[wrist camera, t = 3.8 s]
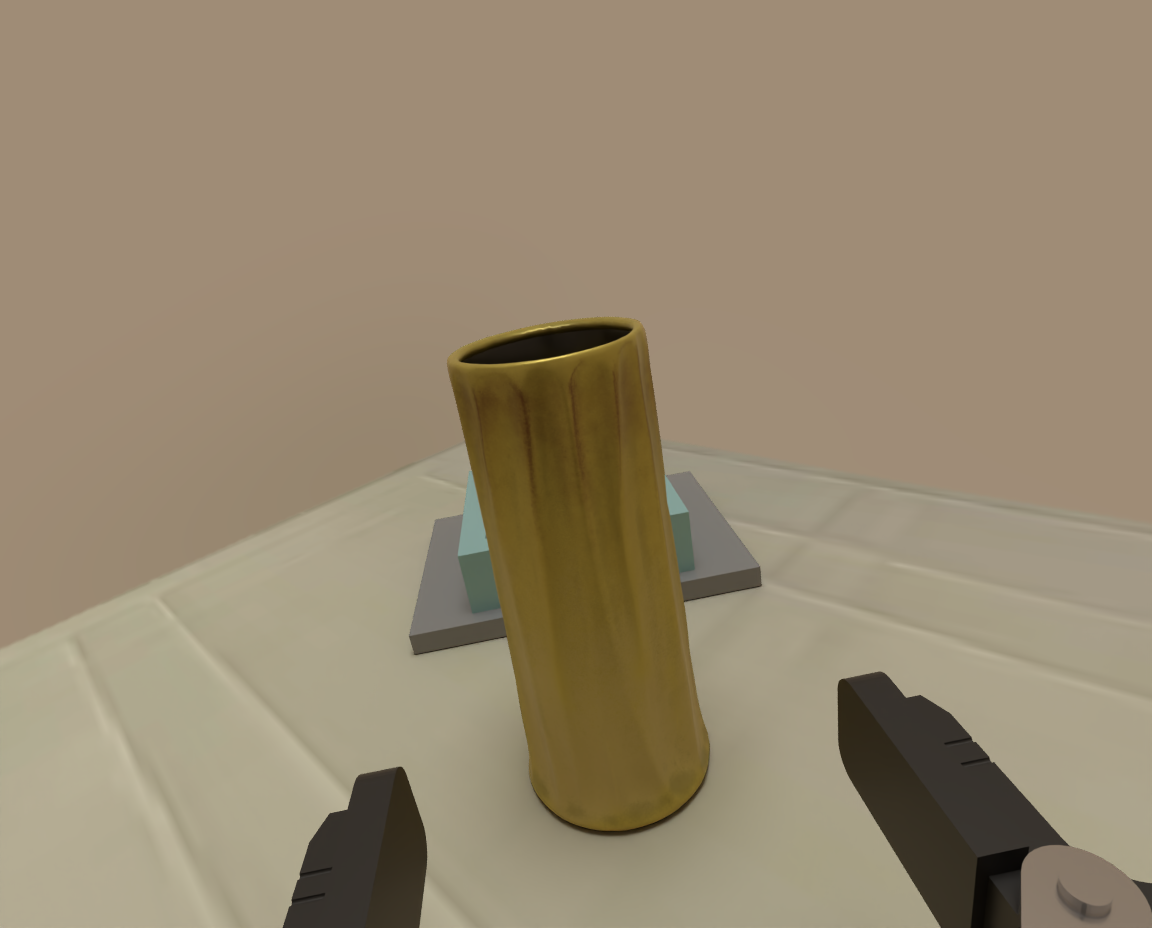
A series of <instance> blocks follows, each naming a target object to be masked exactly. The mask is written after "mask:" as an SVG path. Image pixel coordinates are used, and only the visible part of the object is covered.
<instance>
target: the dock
mask: <svg viewBox="0 0 1152 928" xmlns="http://www.w3.org/2000/svg"><path fill="white" fill-rule="evenodd" d="M665 483H666V495H667V504H668V508H669V513H670V519H671V524H672V530H673V536H674V542H675V548H676V555H677V561H678V568H679V574H680V581H681V587H682V593H683V600H684V601H686V600H691V599H696V598H701V597H706V596H711V595H716V594H721V593H726V592H731V591H736V590H741V589H746V588H751V587H756V586H761V571H760V566H759V564H758V563H757V562H756V560H755V559H754V558H753V556H752V555H751V554H750V552H749V551H748V549H747V548H746V547H745V545H744V544H743V543H742V541H741V540H740V539H739V537H738V536H737V535H736V533H735V532H734V531H733V529H732V528H731V526H730V525H729V524H728V522H727V521H726V520H725V518H724V517H723V516H722V514H721V513H720V512H719V510H718V509H717V508H716V506H715V505H714V503H713V502H712V501H711V499H710V498H709V497H708V495H707V494H706V493H705V491H704V490H703V489H702V487H701V486H700V485H699V483H698V482H697V480H696V479H695V478H694V476H693V475H692V474H691V472H690V471H688V472H683V473H678V474H673V475H667V476H666V475H665ZM505 636H507V635H506V630H505V625H504V620H503V616H502V611H501V607H500V603H499V598H498V594H497V589H496V584H495V579H494V574H493V569H492V563H491V558H490V553H489V548H488V543H487V537H486V532H485V528H484V524H483V520H482V515H481V511H480V506H479V502H478V497H477V492H476V488H475V483H474V479H473V474H472V471H469V476H468V483H467V491H466V498H465V506H464V513H463V515H458V516H452V517H447V518H442V519H437V520H435V523H434V528H433V532H432V537H431V541H430V546H429V550H428V554H427V559H426V563H425V568H424V572H423V577H422V581H421V585H420V590H419V594H418V599H417V603H416V608H415V612H414V616H413V621H412V625H411V630H410V634H409V638H410V641H411V644H412V647H413V651H414V654H419V653H424V652H429V651H434V650H439V649H444V648H450V647H455V646H460V645H465V644H470V643H475V642H480V641H485V640H490V639H495V638H500V637H505Z"/></svg>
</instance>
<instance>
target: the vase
mask: <svg viewBox="0 0 1152 928" xmlns="http://www.w3.org/2000/svg"><path fill="white" fill-rule="evenodd" d="M447 367H448V372H449V377H450V381H451V384H452V387H453V392H454V396H455V400H456V404H457V408H458V412H459V417H460V421H461V425H462V430H463V434H464V438H465V442H466V447H467V451H468V455H469V460H470V465H471V469H472V474H473V479H474V483H475V488H476V492H477V497H478V502H479V506H480V511H481V515H482V520H483V524H484V528H485V532H486V537H487V543H488V548H489V553H490V558H491V563H492V569H493V574H494V579H495V584H496V589H497V594H498V598H499V603H500V607H501V611H502V616H503V620H504V625H505V630H506V635H507V640H508V645H509V650H510V654H511V659H512V664H513V668H514V673H515V679H516V685H517V691H518V697H519V703H520V709H521V714H522V719H523V724H524V729H525V733H526V737H527V743H528V750H529V775H530V779H531V783H532V786H533V788H534V790H535V792H536V793H537V795H538V796H539V798H540V799H541V800H542V801H543V802H544V804H545V805H546V806H547V807H548V808H549V809H550V810H552V811H553V812H554V813H555V814H556V815H558V816H559V817H561V818H562V819H564V820H566V821H568V822H570V823H572V824H575V825H578V826H581V827H584V828H588V829H593V830H601V831H624V830H630V829H635V828H639V827H643V826H646V825H649V824H652V823H654V822H656V821H659V820H661V819H663V818H665V817H667V816H668V815H670V814H672V813H673V812H675V811H676V810H677V809H679V808H680V807H681V806H682V805H683V804H684V803H685V802H686V801H687V800H688V799H689V798H690V797H691V796H692V795H693V794H694V793H695V791H696V790H697V789H698V787H699V786H700V784H701V783H702V781H703V778H704V776H705V774H706V770H707V766H708V760H709V747H710V744H709V738H708V732H707V730H706V727H705V724H704V722H703V719H702V715H701V711H700V707H699V703H698V698H697V692H696V686H695V679H694V673H693V668H692V662H691V656H690V649H689V640H688V629H687V621H686V613H685V606H684V600H683V593H682V587H681V581H680V574H679V568H678V561H677V555H676V548H675V542H674V536H673V530H672V524H671V519H670V513H669V508H668V504H667V495H666V483H665V472H664V463H663V456H662V448H661V440H660V434H659V425H658V418H657V410H656V403H655V396H654V389H653V383H652V376H651V369H650V361H649V352H648V344H647V338H646V333H645V329H644V327H643V325H642V324H641V323H640V321H638V320H635V319H630V318H620V317H595V318H582V319H573V320H564V321H557V322H552V323H546V324H540V325H535V326H530V327H526V328H521V329H517V330H513V331H509V332H505V333H501V334H497V335H494V336H490V337H486V338H484V339H481V340H478V341H475V342H473V343H470V344H468V345H465V346H463V347H461V348H460V349H458V350H456V351H455V352H453V353H452V354H451V355H450V356H449V357H448V360H447Z"/></svg>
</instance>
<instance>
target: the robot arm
mask: <svg viewBox="0 0 1152 928" xmlns="http://www.w3.org/2000/svg"><path fill="white" fill-rule="evenodd" d="M838 742H839V750H840V754H841V758H842V761H843V764H844V767H845V769H846V772H847V774H848V776H849V778H850V780H851V781H852V783H853V785H854V786H855V788H856V790H857V791H858V793H859V794H860V796H861V798H862V799H863V801H864V803H865V804H866V806H867V808H868V809H869V811H870V812H871V814H872V816H873V817H874V819H875V821H876V822H877V824H878V825H879V827H880V829H881V830H882V832H883V834H884V835H885V837H886V839H887V840H888V842H889V843H890V845H891V847H892V848H893V850H894V852H895V853H896V855H897V856H898V858H899V860H900V861H901V863H902V865H903V866H904V868H905V870H906V871H907V873H908V874H909V876H910V878H911V879H912V881H913V883H914V884H915V886H916V887H917V889H918V891H919V892H920V894H921V896H922V897H923V899H924V901H925V902H926V904H927V905H928V907H929V909H930V910H931V912H932V914H933V915H934V917H935V918H936V920H937V922H938V923H939V925H940V927H941V928H1152V883H1145V882H1139V881H1136V880H1132V879H1130V878H1129V877H1128V876H1127V875H1126V874H1124V873H1123V872H1122V871H1121V870H1119V869H1118V868H1117V867H1115V866H1114V865H1113V864H1111V863H1109V862H1108V861H1106V860H1104V859H1103V858H1101V857H1099V856H1096V855H1094V854H1092V853H1090V852H1087V851H1084V850H1082V849H1078V848H1074V847H1070V846H1069V845H1068V844H1067V843H1066V842H1065V841H1064V840H1063V839H1062V838H1061V837H1060V836H1059V834H1058V833H1057V832H1056V831H1055V830H1054V829H1053V828H1052V827H1051V826H1050V824H1049V823H1048V822H1047V821H1046V820H1045V819H1044V818H1043V817H1042V815H1041V814H1040V813H1039V812H1038V811H1037V810H1036V809H1035V808H1034V807H1033V805H1032V804H1031V803H1030V802H1029V801H1028V800H1027V799H1026V798H1025V796H1024V795H1023V794H1022V793H1021V792H1020V791H1019V790H1018V789H1017V788H1016V786H1015V785H1014V784H1013V783H1012V782H1011V781H1010V780H1009V779H1008V777H1007V776H1006V775H1005V774H1004V773H1003V772H1002V771H1001V770H1000V769H999V767H998V766H997V765H996V764H995V763H994V762H993V763H992V762H991V761H990V759H989V756H988V755H987V754H986V753H985V752H984V751H983V750H982V748H981V747H980V746H979V745H978V744H977V743H976V742H973V741H972V737H971V736H970V735H969V734H968V733H967V732H966V731H965V729H964V728H963V727H962V726H961V725H960V724H959V723H958V722H957V720H956V719H955V718H954V717H953V716H952V715H951V714H950V713H949V712H947V711H946V710H944V709H942V708H941V707H939V706H937V705H936V704H934V703H933V702H931V701H929V700H928V699H926V698H924V697H923V696H921V695H918V696H913V697H909V698H906V697H905V696H904V695H903V694H902V692H901V691H900V690H899V689H898V688H897V686H896V685H895V684H894V683H893V682H892V680H891V679H890V678H889V677H888V676H887V675H886V674H885V673H883V672H875V673H870V674H865V675H860V676H855V677H851V678H846V679H841V680H840V681H839V683H838ZM426 867H427V843H426V835H425V830H424V826H423V823H422V820H421V817H420V814H419V811H418V808H417V805H416V802H415V799H414V796H413V793H412V790H411V787H410V784H409V781H408V778H407V775H406V773H405V770H404V769H403V768H402V767H396V768H391V769H386V770H381V771H376V772H371V773H366V774H361V775H359V776H358V777H357V778H356V781H355V784H354V787H353V791H352V795H351V798H350V802H349V806H348V810H344V811H339V812H334V813H330V814H329V815H328V817H327V818H326V819H325V821H324V822H323V824H322V825H321V827H320V828H319V829H318V831H317V832H316V834H315V835H314V837H313V838H312V840H311V841H310V842H309V845H308V849H307V852H306V855H305V858H304V861H303V865H302V868H301V871H300V880H298V881H297V884H296V887H295V890H294V893H293V897H292V906H290V907H289V909H288V913H287V916H286V919H285V922H284V925H283V928H419V925H420V917H421V909H422V901H423V892H424V884H425V876H426Z"/></svg>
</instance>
